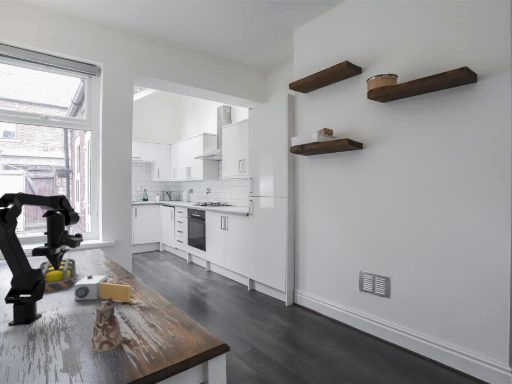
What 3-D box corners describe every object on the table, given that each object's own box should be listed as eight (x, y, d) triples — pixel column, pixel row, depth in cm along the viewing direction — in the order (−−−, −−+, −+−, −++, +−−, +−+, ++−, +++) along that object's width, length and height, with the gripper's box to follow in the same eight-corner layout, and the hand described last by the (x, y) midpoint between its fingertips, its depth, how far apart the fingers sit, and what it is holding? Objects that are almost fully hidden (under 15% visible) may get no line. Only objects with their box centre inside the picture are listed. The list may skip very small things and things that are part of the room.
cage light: (75, 255, 153) (74, 269, 127) (76, 271, 153) (74, 288, 127) (40, 259, 146) (31, 275, 120) (41, 275, 146) (31, 294, 120)
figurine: (85, 350, 78) (84, 305, 78) (103, 336, 85) (102, 295, 85) (109, 352, 77) (108, 306, 76) (126, 338, 84) (125, 296, 83)
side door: (96, 298, 114) (95, 283, 113) (98, 297, 115) (98, 282, 115) (128, 303, 109) (127, 287, 108) (130, 302, 110) (130, 285, 110)
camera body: (94, 300, 112) (94, 282, 112) (72, 301, 111) (71, 283, 111) (107, 289, 124) (107, 273, 124) (87, 290, 123) (86, 274, 123)
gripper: (63, 231, 102) (64, 276, 103) (90, 224, 121) (91, 262, 121) (29, 232, 102) (31, 277, 102) (62, 225, 120) (63, 263, 121)
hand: (57, 269), depth 111 cm, fingers closed
